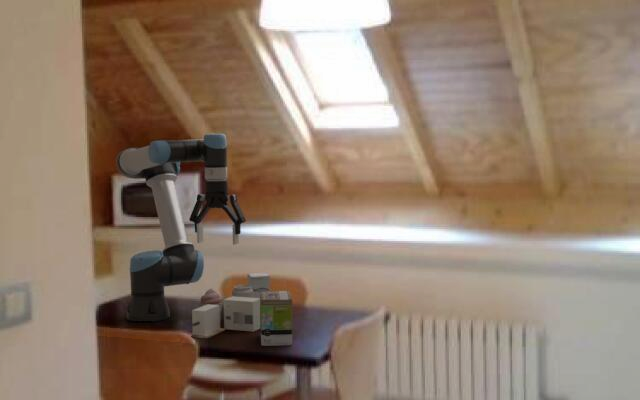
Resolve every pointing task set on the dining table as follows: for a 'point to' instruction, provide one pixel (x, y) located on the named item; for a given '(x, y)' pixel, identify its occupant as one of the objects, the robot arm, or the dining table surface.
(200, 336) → the cork mat
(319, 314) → the dining table surface
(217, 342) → the dining table surface
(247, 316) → the socket box
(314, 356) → the dining table surface
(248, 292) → the can
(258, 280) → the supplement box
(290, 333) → the tea box
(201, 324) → the charger plug
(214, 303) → the cupcake
